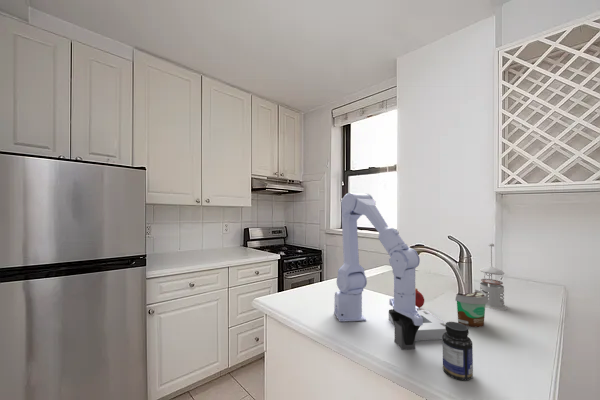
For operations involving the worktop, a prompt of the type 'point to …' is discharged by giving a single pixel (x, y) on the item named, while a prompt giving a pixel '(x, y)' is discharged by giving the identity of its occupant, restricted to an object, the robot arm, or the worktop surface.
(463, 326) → the pill bottle
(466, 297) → the food container
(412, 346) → the plug
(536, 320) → the worktop surface
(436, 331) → the socket plate
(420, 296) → the onion
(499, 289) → the french press
